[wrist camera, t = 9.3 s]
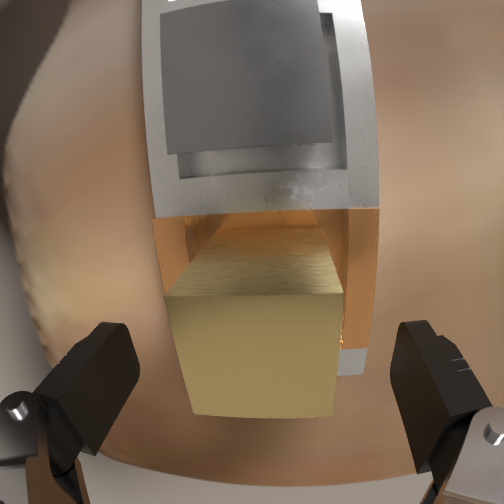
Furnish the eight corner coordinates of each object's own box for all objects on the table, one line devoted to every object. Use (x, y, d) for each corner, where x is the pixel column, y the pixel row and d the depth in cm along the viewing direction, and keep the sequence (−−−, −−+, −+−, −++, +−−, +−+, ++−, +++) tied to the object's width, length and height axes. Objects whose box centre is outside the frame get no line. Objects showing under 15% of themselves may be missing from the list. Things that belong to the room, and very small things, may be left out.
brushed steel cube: (203, 54, 11) (159, 14, 7) (307, 44, 11) (316, -6, 6) (210, 151, 13) (167, 155, 8) (316, 144, 12) (333, 142, 8)
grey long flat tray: (162, -74, 9) (146, -95, 7) (321, -93, 8) (323, -118, 6) (195, 347, 18) (183, 375, 15) (355, 345, 16) (363, 375, 14)
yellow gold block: (217, 229, 14) (164, 295, 8) (319, 225, 13) (343, 292, 7) (228, 317, 15) (193, 413, 9) (319, 315, 15) (331, 417, 9)
